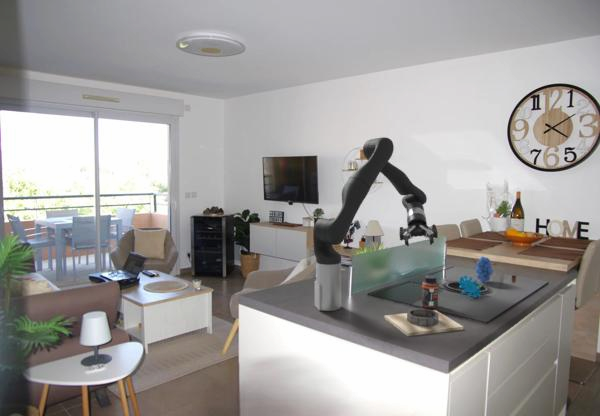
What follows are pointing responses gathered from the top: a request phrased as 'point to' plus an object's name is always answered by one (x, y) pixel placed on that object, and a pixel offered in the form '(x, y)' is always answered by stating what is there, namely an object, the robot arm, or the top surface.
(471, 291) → the gear
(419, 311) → the metal collar
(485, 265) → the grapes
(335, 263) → the robot arm
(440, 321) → the birch board
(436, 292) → the supplement bottle
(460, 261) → the top surface
